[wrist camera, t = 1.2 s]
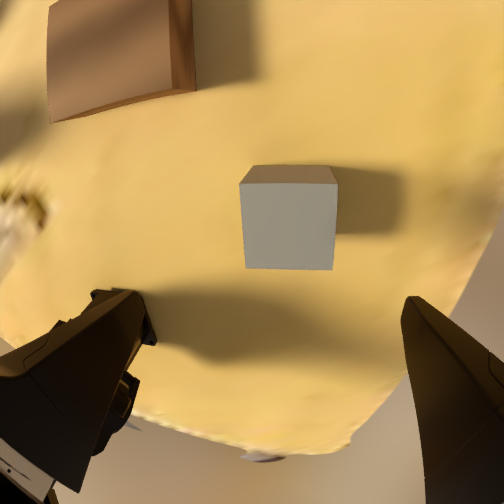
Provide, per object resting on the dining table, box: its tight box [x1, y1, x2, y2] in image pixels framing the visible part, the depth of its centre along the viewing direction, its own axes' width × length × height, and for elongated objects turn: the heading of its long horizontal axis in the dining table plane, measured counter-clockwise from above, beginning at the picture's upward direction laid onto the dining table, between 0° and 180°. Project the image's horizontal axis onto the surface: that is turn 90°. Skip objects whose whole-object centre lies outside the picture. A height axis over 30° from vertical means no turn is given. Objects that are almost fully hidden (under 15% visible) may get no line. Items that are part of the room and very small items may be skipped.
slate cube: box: [239, 165, 338, 270], centre depth 18 cm, size 5×5×5 cm
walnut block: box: [47, 0, 196, 124], centre depth 14 cm, size 10×10×4 cm
